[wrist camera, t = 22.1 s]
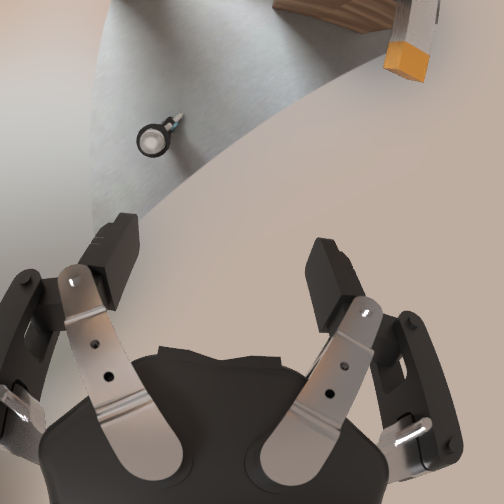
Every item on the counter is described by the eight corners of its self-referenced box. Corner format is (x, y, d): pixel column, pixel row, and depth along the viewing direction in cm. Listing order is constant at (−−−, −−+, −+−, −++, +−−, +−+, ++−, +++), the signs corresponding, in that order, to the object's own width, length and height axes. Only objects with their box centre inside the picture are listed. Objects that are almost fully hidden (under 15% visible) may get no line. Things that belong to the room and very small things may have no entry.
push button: (172, 103, 40) (156, 111, 32) (193, 123, 43) (181, 136, 35) (147, 129, 42) (127, 143, 35) (167, 147, 45) (151, 166, 37)
